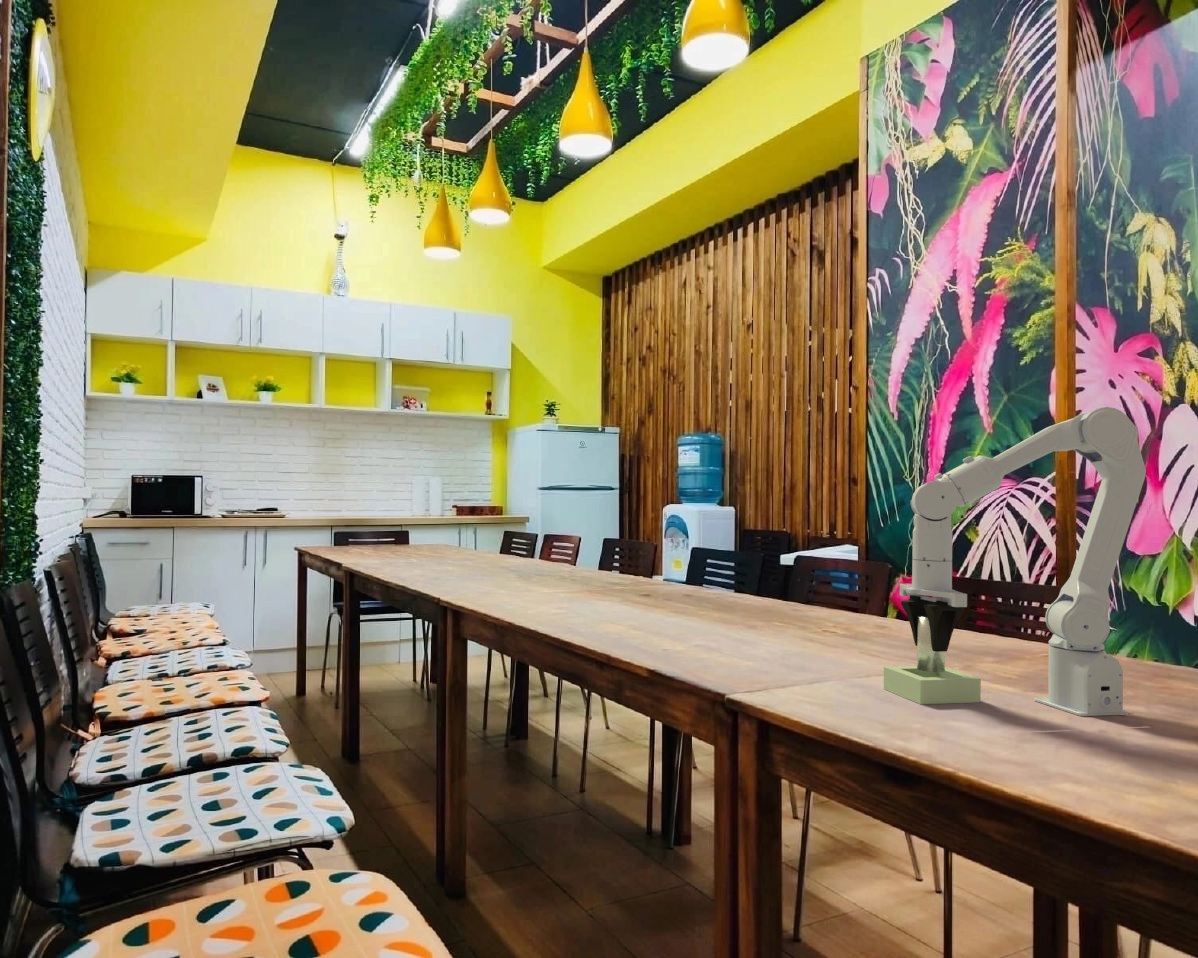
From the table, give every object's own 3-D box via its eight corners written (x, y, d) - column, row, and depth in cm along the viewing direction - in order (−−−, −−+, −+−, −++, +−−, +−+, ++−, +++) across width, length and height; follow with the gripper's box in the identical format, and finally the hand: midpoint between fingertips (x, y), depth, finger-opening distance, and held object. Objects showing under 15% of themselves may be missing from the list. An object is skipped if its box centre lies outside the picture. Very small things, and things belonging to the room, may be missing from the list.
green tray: (980, 702, 126) (980, 678, 126) (920, 704, 124) (920, 680, 124) (939, 687, 136) (940, 665, 136) (883, 688, 134) (883, 666, 134)
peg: (950, 671, 129) (951, 618, 129) (927, 672, 128) (928, 619, 128) (933, 666, 132) (934, 615, 133) (911, 667, 131) (912, 615, 132)
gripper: (883, 556, 137) (882, 640, 136) (937, 563, 122) (935, 657, 122) (922, 556, 138) (921, 640, 138) (980, 563, 124) (979, 656, 124)
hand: (930, 648), depth 130 cm, fingers closed on peg, 4 cm apart
